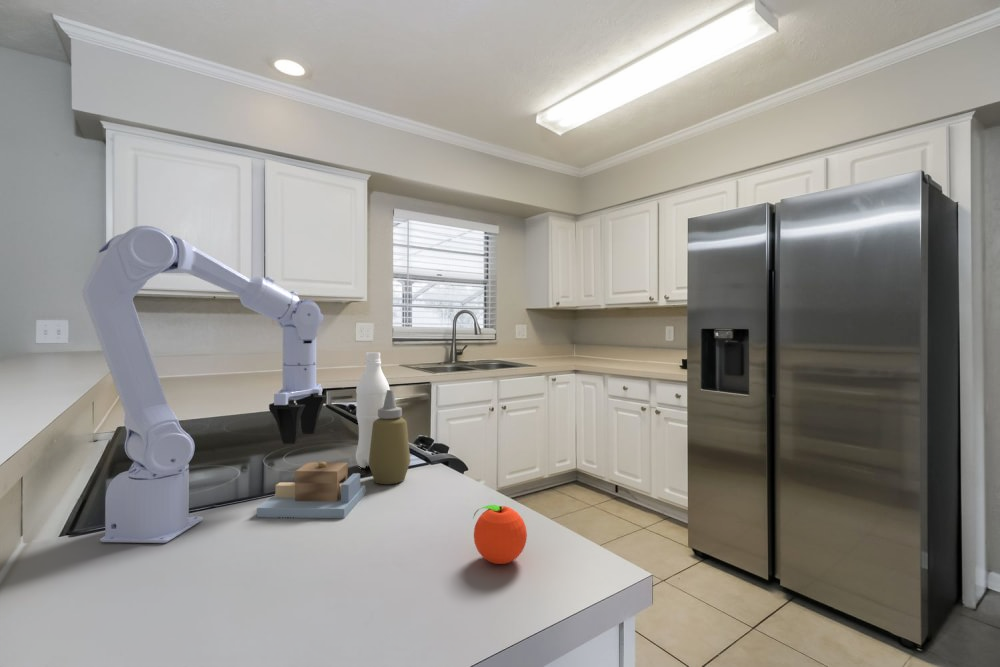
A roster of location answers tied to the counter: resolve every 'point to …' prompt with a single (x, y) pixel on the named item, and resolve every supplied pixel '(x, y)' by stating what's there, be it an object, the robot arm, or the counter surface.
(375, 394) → the water bottle
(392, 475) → the squeeze bottle
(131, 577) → the counter surface
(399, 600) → the counter surface
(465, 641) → the counter surface
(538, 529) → the counter surface
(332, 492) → the cabinet block
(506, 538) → the clementine
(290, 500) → the cleat board
